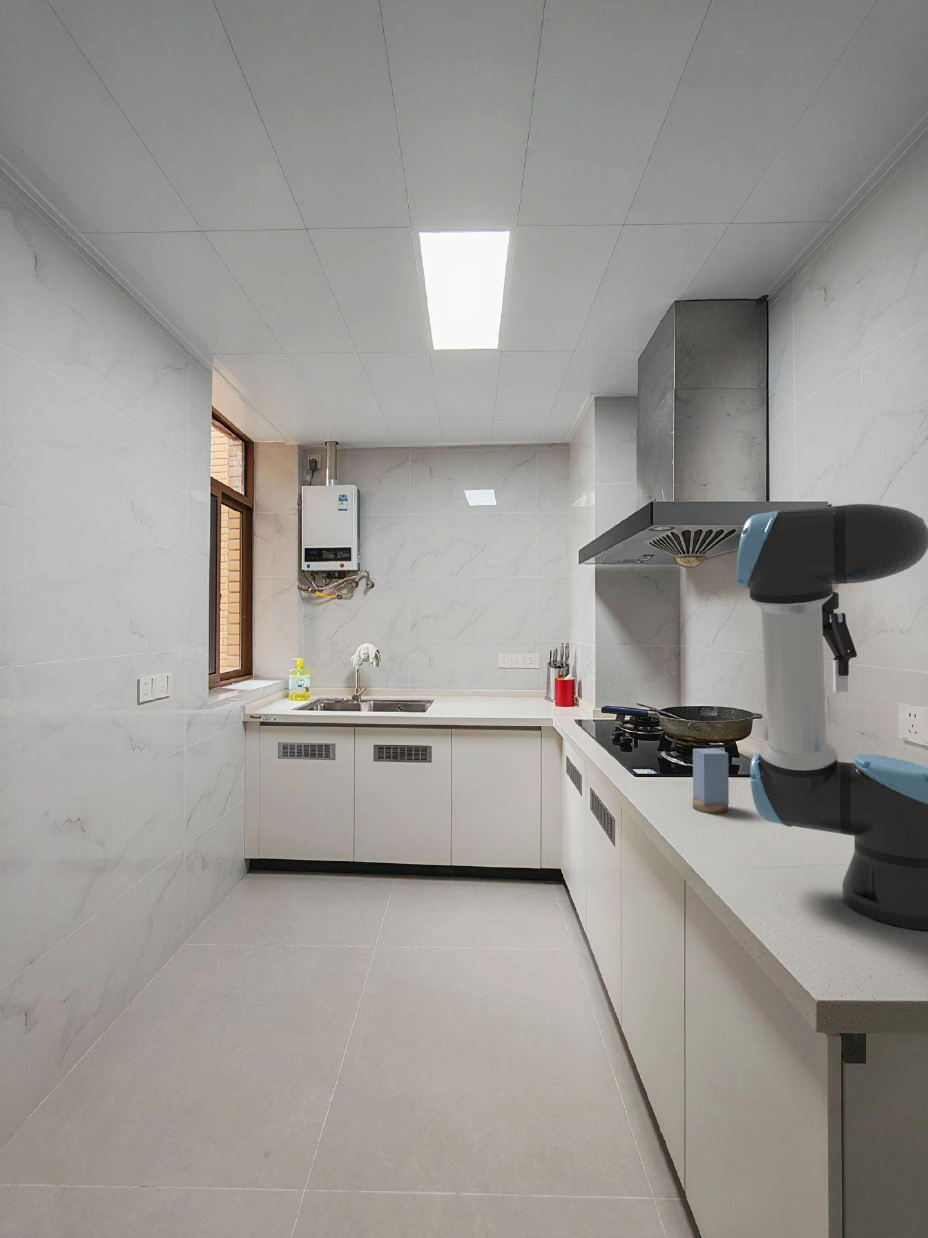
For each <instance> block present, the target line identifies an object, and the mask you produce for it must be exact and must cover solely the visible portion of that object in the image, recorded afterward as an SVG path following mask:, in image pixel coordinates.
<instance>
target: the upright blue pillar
mask: <svg viewBox="0 0 928 1238" xmlns="http://www.w3.org/2000/svg"><path fill="white" fill-rule="evenodd" d="M729 783H730V782H729V753H728V752H726V751H724V750H721V749H719V748H716V747H715V748H714V747H710V748H709V747H708V748H706V747H705V748H692V797H693V798H695V799H697V800H698V801H700V802H701V803H703V804H728V805H729V803H730V802H729V801H730V800H729V798H730V794H729V791H730V790H729V787H730V785H729Z"/></svg>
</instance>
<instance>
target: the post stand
mask: <svg viewBox="0 0 928 1238" xmlns="http://www.w3.org/2000/svg"><path fill="white" fill-rule="evenodd" d="M692 808H693V810H696V811H697V812H701V813H706V814H714V815H716V814H717V815H719V814H726V813H728V812H729V804H703V803H701V802H700V801H698V800H697V799H695V798H694V797H693V798H692Z"/></svg>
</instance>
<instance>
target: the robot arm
mask: <svg viewBox="0 0 928 1238" xmlns="http://www.w3.org/2000/svg"><path fill="white" fill-rule="evenodd" d="M738 544H739V545H738V550H737V560H736V577H737V585H738V586H739V587H741V588H744V589H748V590H749V598H750V601H751V602H753V603H754V604H755V605H757V606H758V607H759V608H760V612H761V613H760V614H761V628H762V629H761V631H762V633H761V634H762V648H763V663H764V664H763V667H764V681H765V682H764V684H765V686H764V687H765V698H766V699H765V700H766V701H765V704H766V716H767V719H766V721H767V737H768V738H767V740H766V741H764V742H763V743H762V744H761V745H760V747H759V752H758V753H755V754H753V755H752V757H751V761H750V766H749V772H750V775H749V776H750V789H751V794H752V799H753V803H754V805H755V809H756V811H757V813H758V815H759V816H760V817H761V818H763V820H764V821H767V822H769V823H775V824H779V825H783V826H786V827H788V828H789V827H796V828H802V829H808V830H815V831H821V832H827V833H832V834H833V833H834V834H839V835H846V836H853V837H854V852H853V854H852V858H851V860H850V862H849V865H848V868H847V870H846V872H845V876H844V878H843V880H842V886H841V887H842V888H841V889H842V890H841V892H842V894H841V895H842V900H843V901H844V903H845V904H846V905H847V906H848V907H850V908H851V909H853V910H854V911H856V912H858V913H860V914H861V915H864V916H866V917H868V918H870V919H873V920H876V921H879V922H882V923H886V924H889V925H893V926H897V927H901V928H906V929H912V930H922V931H928V767H925V766H923V765H920V764H918V763H915V762H911V761H907V760H903V759H901V758H895V757H890V756H885V755H880V754H879V755H878V754H868V753H859V754H856V755H854V757H853V759H852V762H845V761H838V752H837V749H836V748H835V747H833V745H831V744H830V743H829V742H827V725H826V723H827V722H826V721H827V720H826V718H827V717H826V692H825V691H826V690H825V688H826V687H825V667H824V665H825V664H824V639H825V641H826V643H827V644H828V646H829V648H830V650H831V653H832V654H833V656H834V657H833V660H832V673H833V674H832V692H835V693H837V692H838V693H840V692H841V693H844V692H845V693H846V692H849V674H850V672H849V671H850V670H849V669H850V668H849V667H850V664H849V663H850V662H849V661H850V660H851V659H853V658H857V657H858V653H857V650H856V648H855V645H854V641H853V639H852V636H851V633H850V630H849V628H848V625H847V616H846V613H844V612H834V611H835V610H838V609H839V606H840V595H839V593H838V592H836V591H837V590H838V589H839V585H841V584H843V585H844V584H845V585H847V584H858V583H859V584H860V583H865V582H871V581H876V580H880V579H885V578H887V577H891V576H893V575H896V574H898V573H902V572H904V571H906V570H908V569H910V568H911V567H913V566H915V565H916V564H918V563H919V562H920V561H921V560H922V559H923V557H924V556H925V555H926V553H927V551H928V526H927V525H926V522H925V520H924V519H923V517H921V516H920V517H919V516H918V515H917V514H915V513H913V512H911V511H909V510H907V509H903V508H899V507H895V506H889V505H882V504H881V505H880V504H871V503H855V504H854V503H851V504H843V505H834V506H821V507H808V508H799V509H797V508H796V509H786V510H783V509H782V510H780V509H778V510H774V511H769V512H764V513H757V514H754V515H751V516H750V517H749V518H748V519H747V520H746V521H745V523H744V525H743V527H742V530H741V535H740V539H739V543H738Z"/></svg>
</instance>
